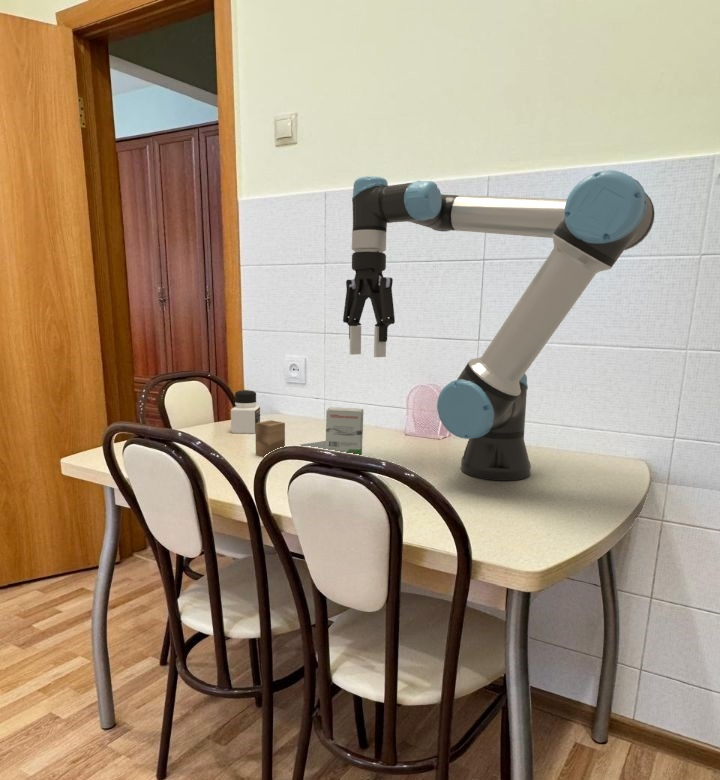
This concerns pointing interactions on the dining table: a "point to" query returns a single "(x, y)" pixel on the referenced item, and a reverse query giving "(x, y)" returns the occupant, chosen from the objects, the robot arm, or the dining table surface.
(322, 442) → the mat
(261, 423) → the walnut block
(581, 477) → the dining table surface
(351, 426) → the ink box
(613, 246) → the robot arm
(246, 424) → the medicine bottle
